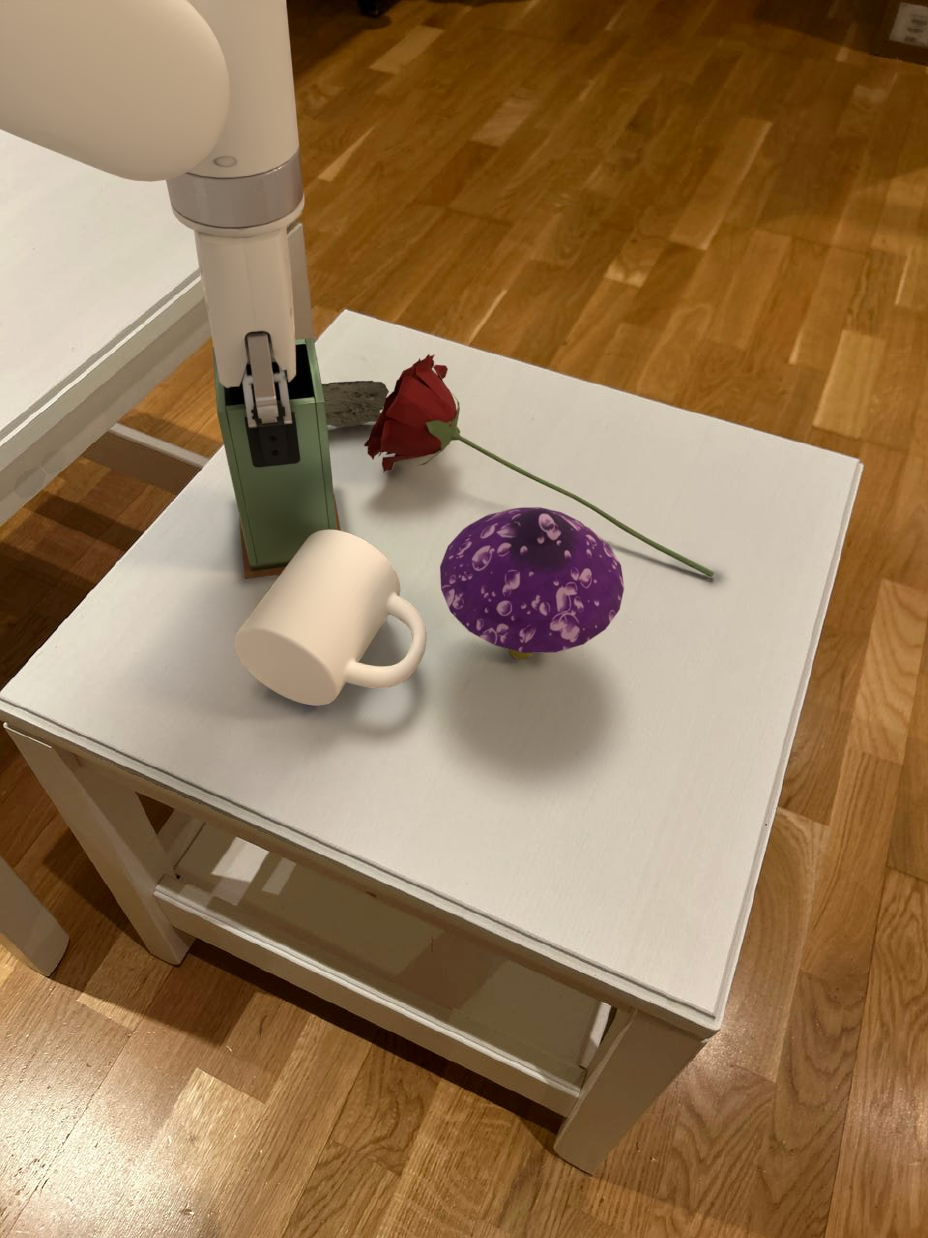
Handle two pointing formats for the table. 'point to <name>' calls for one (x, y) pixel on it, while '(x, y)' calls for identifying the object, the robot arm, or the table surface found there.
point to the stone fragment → (353, 402)
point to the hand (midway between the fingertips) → (271, 415)
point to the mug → (328, 621)
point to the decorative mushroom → (531, 581)
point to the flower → (446, 432)
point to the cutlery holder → (281, 467)
